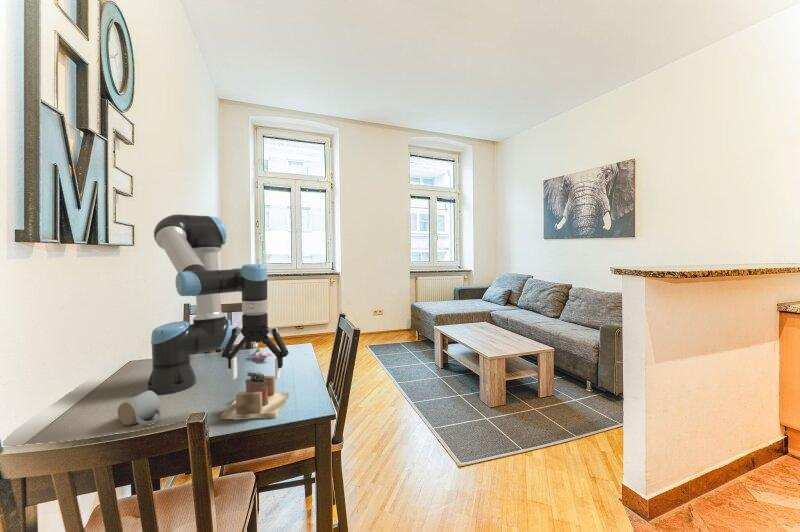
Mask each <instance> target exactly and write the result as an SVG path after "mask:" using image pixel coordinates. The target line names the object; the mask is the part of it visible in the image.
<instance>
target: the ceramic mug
mask: <svg viewBox="0 0 800 532" xmlns="http://www.w3.org/2000/svg"><path fill="white" fill-rule="evenodd" d="M161 404H162V403H161V400H160V397H159V396H158V394H155V393H154V392H153V391H148V390H146V391H144V392H141V393H140V394H138V395H135V396H134V397H131V398H129V399H127V400H125V401H123V402H122V403H121V404H120V405H119V406H118V408H117V417H118V419H119V420H120V422H121V423H122V424H123V425H125V426H133V425H135V424H138V425H141V426H144V425H148V424H152V423H155V422H157V421H158V422H160V419H161V416H162V413H161ZM156 415H157V416H158V417H157V418H155V419H152V420H146V419H149V418H151V417H153V416H156ZM158 422H157V423H158ZM155 424H156V423H155ZM148 426H149V425H148Z"/></svg>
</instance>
